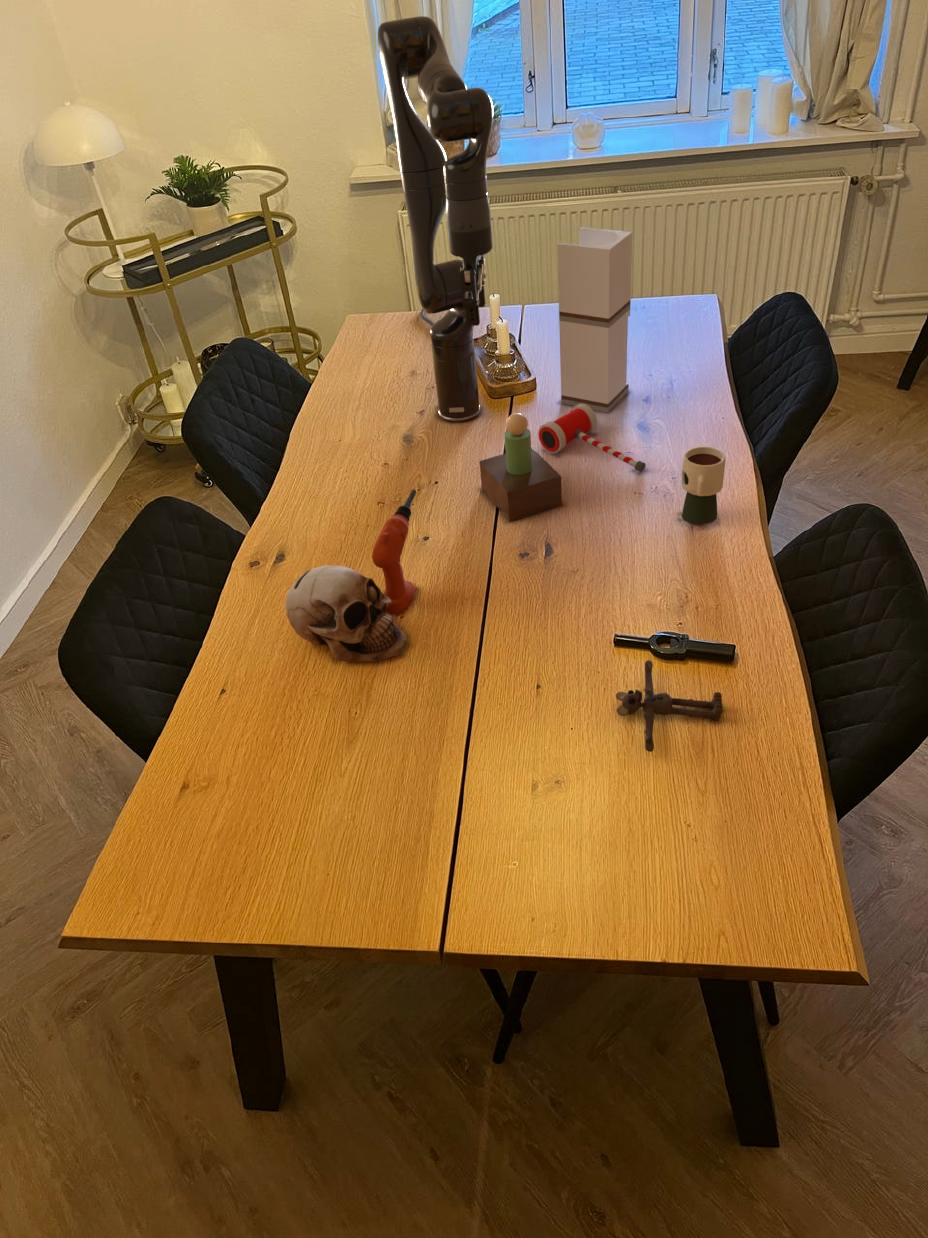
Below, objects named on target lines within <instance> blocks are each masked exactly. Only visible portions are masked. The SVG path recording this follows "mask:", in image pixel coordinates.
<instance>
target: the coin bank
mask: <svg viewBox="0 0 928 1238" xmlns="http://www.w3.org/2000/svg"><path fill="white" fill-rule="evenodd" d="M390 605H391V600H390V598H389V597H387V596H386V595H385V594H384V592H383V591H381V589H380V587H379V586H378V585H377V584H376V582H375V581H374V580H373V578H372V577H366V576H365V575H363V574H362V573H360V572H358V571H357V570H355V569H353V568H351V567H348V566H344V565H337V564H336V565H335V564H330V565H329V564H327V565H326V564H325V565H321V566H316V567H313V568H310V569H308V570H307V571H305V572H303V573H302V574H301V575H299V577H297V579H296V580H295V581H294V582H293V583H292V584H291V586H290V588H289V589H288V592H287V593H286V597H285V611H286V615H287V619H288V621H289V624H290V626H291V627H292V629H293V631H294V632H295V633H296V634H297V635H298V636H299V637H300V638H302V639H304V640H306V641H308V642H309V643H311V644H312V645H314V646H325V647H328V648H329V650H330V652H331V654H332V656H333V658H334V659H335V660H337V661H344V662H345V661H347V662H353V663H354V662H355V663H359V662H361V663H367V662H374V663H377V662H381V661H385V660H387V659H391V658H392V657H397V656H399V655H401V654H402V653H403V651H404V649H405V648H406V647H407V645H408V639H407V638H408V637H407V636H406V634H405V633H404V631H402V629H401V628H400V627H399V626H398V625H397V623H396V621H395V619H394V618H393V616H392V615H391V614H389V613H388V612H386V609H387V607H388V606H390Z"/></svg>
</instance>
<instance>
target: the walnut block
mask: <svg viewBox="0 0 928 1238" xmlns="http://www.w3.org/2000/svg"><path fill="white" fill-rule="evenodd" d="M531 454H532V470H531V471H530V472H529V473H527V474H523V475H513V474H510V473H509V472H508V471H507V465H506V452H505V453H502V454H497V455H495V456H492V457H489V458H486V459H481V460H479V471H480V482H481V491H483V492H484V494H485V495H486V496H487V497H488V498H489V500H490V501H491V502H492V503H493V504H494V505H495V506H496V508H497V509H498V510H499V511H500V512H501V513H502V515H503V516H504V517H505V518H506V519H507V521H508V522H513V521H516V520H519V519H522V518H526V517H529V516H532V515H535V514H538V513H542V512H545V511H548V510H551V509H554V508H558V507H561V506H562V505H563V501H562V500H563V499H562V498H563V496H562V475H561V474H560V473H559V472H558V471H557V470H556V469H554V467H553V466H552V465H550V463H548V461H547V460H545V458H544V457H542V455H540V453H539V452H537V450H536V449H534V448H533V446H531Z"/></svg>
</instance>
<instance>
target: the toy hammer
mask: <svg viewBox="0 0 928 1238" xmlns="http://www.w3.org/2000/svg"><path fill="white" fill-rule="evenodd" d="M597 427H598V418H597V415H596V413H595V410H592V409H591V408H590V407H589V406H588V405H586V404H578V405H576V406H573V407H572V408H571V409H570V411H568V412H567V413H565V414H564V415H562V416H560V417H559V418H557V419H555V420H554V421H547V422H545V423H543V424H541V425H540V426H539V428H538V430H537V437H538V441H539V443H540V445H541V446H542V448H543V450H545V451H546V452H547V453H549V454H557V453H559V452H561V451H562V450H564V449H565V447H566V445H568V444H570V443H571V442H572V441H574V440H576V439H579V440H582V441H584V442H585V443H588V444H589V445H592V446H593V447H595V448H597V449H599V450H601V451H603V452H604V453H606V454H609V455H611V456H612V457H614V458H616V459H618V460H619V461H622V462H623V463H626V464H628V465H629V466H631V467H632V468H634V470H636V471H637V472H639V473H642V472H643V471H644V470H645V468H646V462H643V461H642V460H637V459H634V458H633V457H631V456H629V455H626V454H625V453H623V452H621V451H619V450H617V449H615V448H613V447H612V446H609V445H607V444H606V443H603V441H600V440H598V439H596V438H594V437H592V436H590V435H589V434H591V433H593V432H594V431H595V430H596V429H597Z"/></svg>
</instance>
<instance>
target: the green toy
mask: <svg viewBox="0 0 928 1238" xmlns="http://www.w3.org/2000/svg"><path fill="white" fill-rule="evenodd" d="M528 426H529V423H528V419H527V417H526V416H525V415H524V414H522V413H519V412H515V413H512V414H510V415H509V416H508V417H507V418H506V421H505V427H506V430H505V432H504V435H503V436H504V449H505V453H506V465H507V471H508V472H509V473H510V474H513V475H523V474H527V473H529V472H530V471H531V470H532V454H531V447H532V438H531V431H530V429H529V428H528Z"/></svg>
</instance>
